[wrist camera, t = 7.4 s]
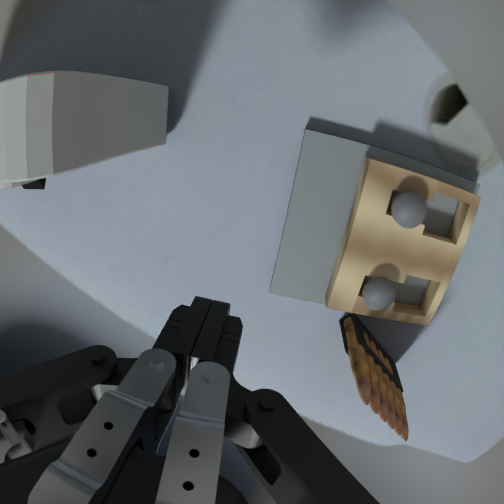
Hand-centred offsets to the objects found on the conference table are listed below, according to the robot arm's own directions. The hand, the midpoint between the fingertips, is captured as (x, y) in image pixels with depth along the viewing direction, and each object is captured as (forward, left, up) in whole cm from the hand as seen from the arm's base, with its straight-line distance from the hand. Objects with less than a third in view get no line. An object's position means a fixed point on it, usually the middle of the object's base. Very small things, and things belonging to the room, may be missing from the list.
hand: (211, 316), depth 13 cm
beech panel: (0, +14, -16) cm, 21 cm away
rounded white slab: (-6, -23, -18) cm, 30 cm away
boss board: (0, +12, -18) cm, 21 cm away
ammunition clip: (+13, +16, -18) cm, 27 cm away
